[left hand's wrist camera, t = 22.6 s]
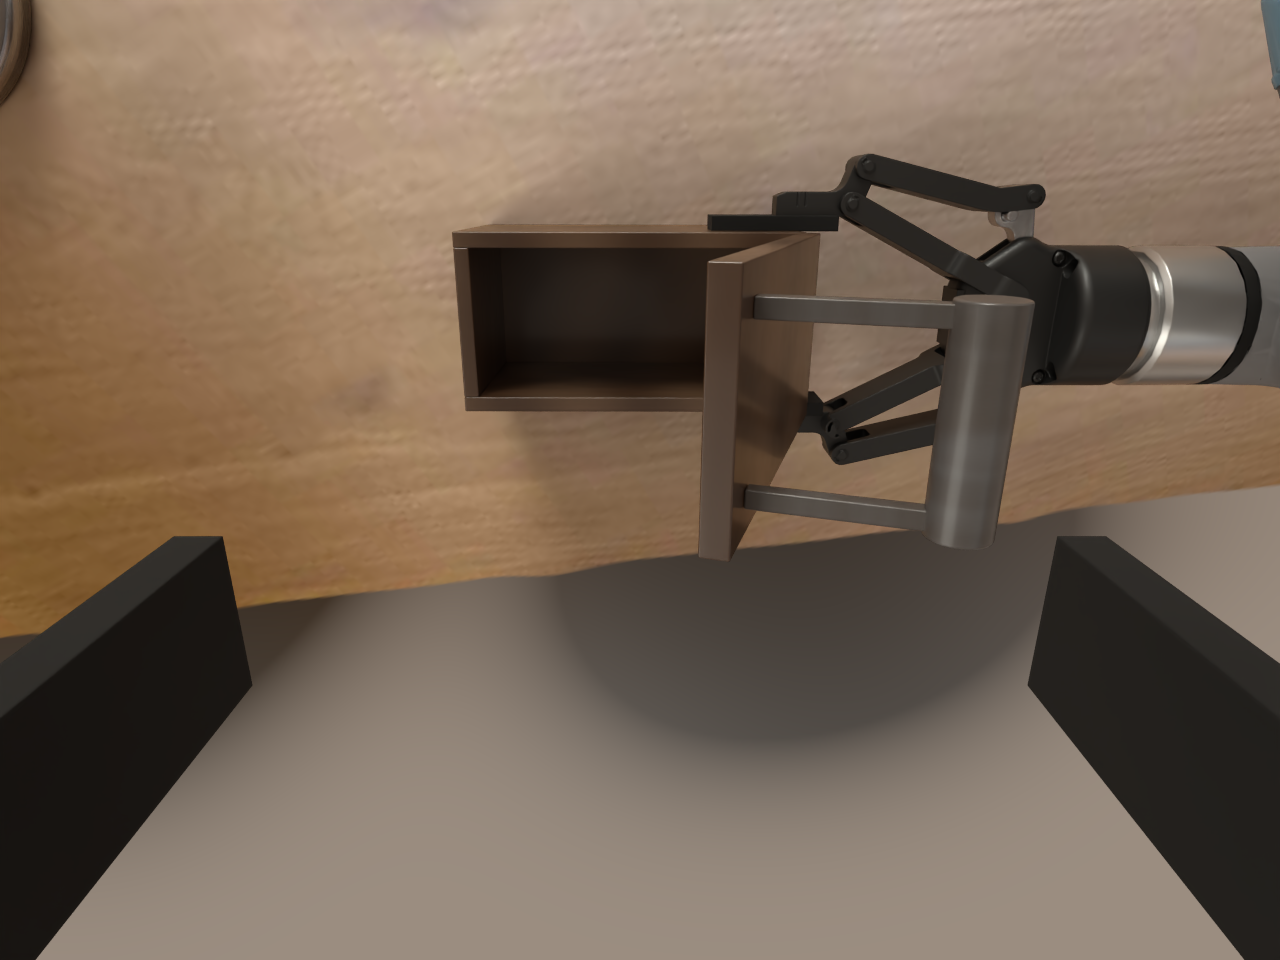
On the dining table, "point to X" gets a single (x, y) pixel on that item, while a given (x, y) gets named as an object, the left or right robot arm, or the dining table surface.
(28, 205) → the dining table surface
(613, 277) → the chest
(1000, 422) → the lid
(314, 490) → the dining table surface
